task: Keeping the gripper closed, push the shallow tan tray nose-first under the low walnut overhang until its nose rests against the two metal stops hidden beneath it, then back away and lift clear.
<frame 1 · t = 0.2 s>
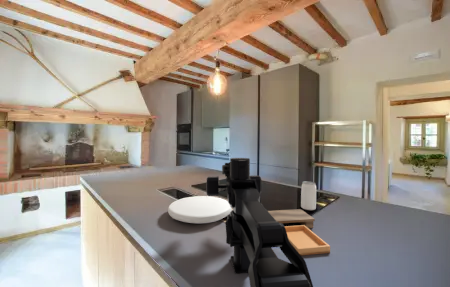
hand: (230, 180, 78), 17 cm above the worktop, tool horizontal, fingers open, 9 cm apart
shallow tan tray: (301, 241, 66), on the worktop
overhang: (283, 223, 79), on the worktop
white thick disc: (200, 215, 88), on the worktop
can: (308, 208, 96), on the worktop
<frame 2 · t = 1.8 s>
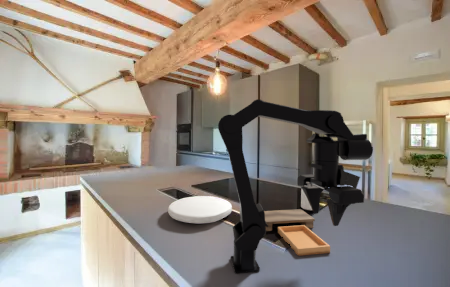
hand: (325, 219, 54), 12 cm above the worktop, tool pointing down, fingers open, 8 cm apart
nothing on the worktop moved.
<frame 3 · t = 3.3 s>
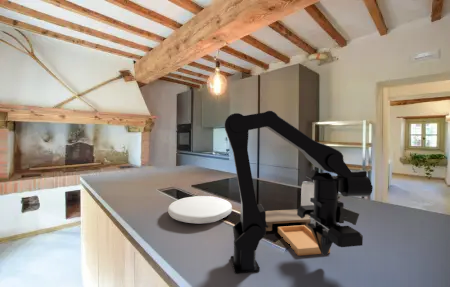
hand: (324, 254, 54), 3 cm above the worktop, tool pointing down, fingers closed
nothing on the worktop moved.
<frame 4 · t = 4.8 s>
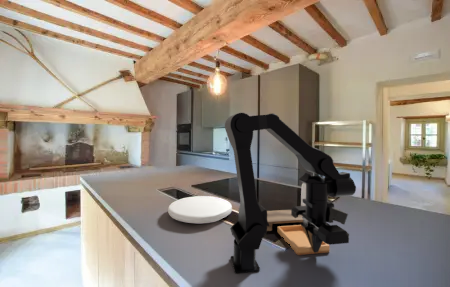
hand: (315, 251, 58), 1 cm above the worktop, tool pointing down, fingers closed
shallow tan tray: (300, 241, 66), on the worktop, touching gripper
everything else where it was.
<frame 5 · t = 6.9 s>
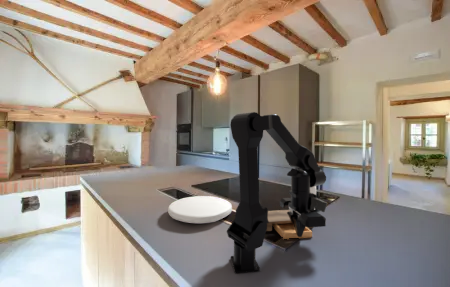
hand: (299, 236, 67), 1 cm above the worktop, tool pointing down, fingers closed
shallow tan tray: (288, 228, 75), on the worktop, touching gripper
everything else where it was.
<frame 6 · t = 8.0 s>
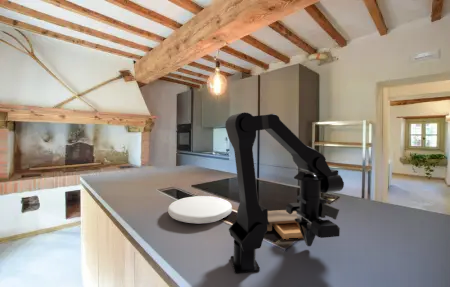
hand: (308, 245, 62), 1 cm above the worktop, tool pointing down, fingers closed
shallow tan tray: (288, 228, 75), on the worktop
everything else where it was.
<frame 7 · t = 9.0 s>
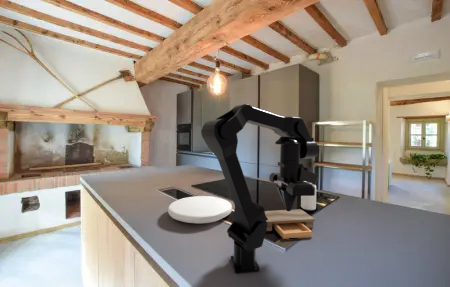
hand: (288, 210, 62), 11 cm above the worktop, tool pointing down, fingers closed
nothing on the worktop moved.
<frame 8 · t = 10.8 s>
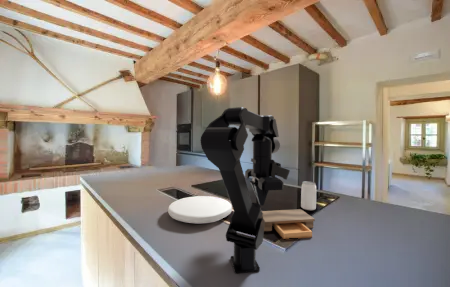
hand: (261, 205, 65), 12 cm above the worktop, tool pointing down, fingers closed
nothing on the worktop moved.
at the end: shallow tan tray 0.3 cm from the target spot on the overhang, point 0.0 cm above the overhang's base; shallow tan tray tilted 0° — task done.
